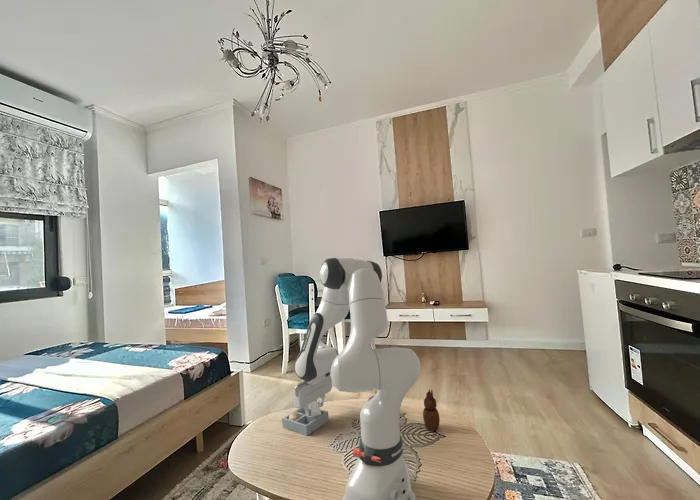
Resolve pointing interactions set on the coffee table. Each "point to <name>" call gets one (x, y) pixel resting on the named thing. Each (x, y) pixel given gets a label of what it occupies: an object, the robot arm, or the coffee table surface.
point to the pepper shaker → (314, 409)
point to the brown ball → (294, 416)
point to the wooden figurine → (430, 412)
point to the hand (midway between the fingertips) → (314, 410)
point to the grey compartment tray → (305, 422)
